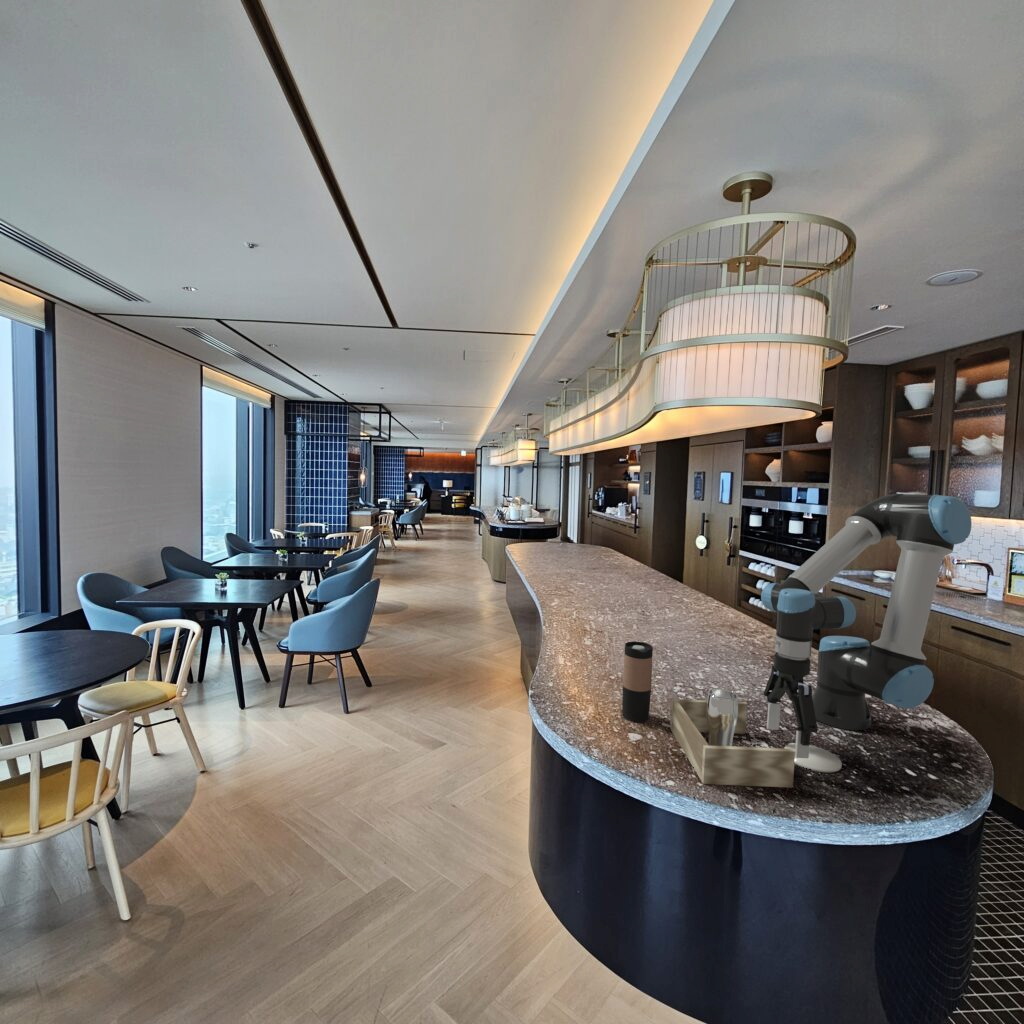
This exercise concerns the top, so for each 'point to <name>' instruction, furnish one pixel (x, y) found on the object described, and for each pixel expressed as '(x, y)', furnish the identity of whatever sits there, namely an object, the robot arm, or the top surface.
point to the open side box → (728, 751)
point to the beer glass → (721, 716)
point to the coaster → (818, 760)
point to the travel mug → (637, 681)
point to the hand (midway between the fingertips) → (786, 742)
